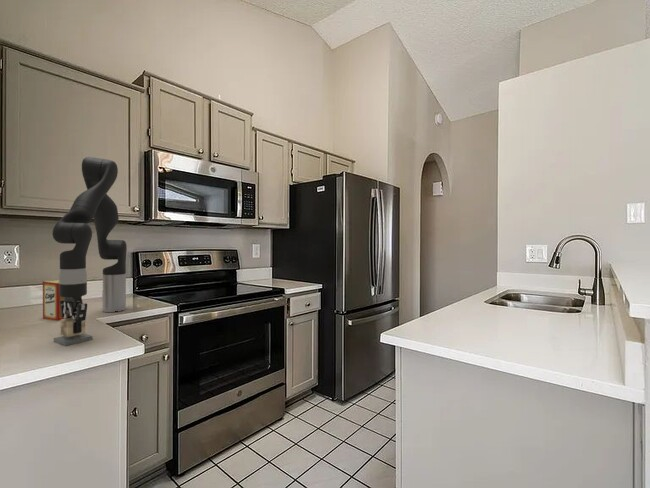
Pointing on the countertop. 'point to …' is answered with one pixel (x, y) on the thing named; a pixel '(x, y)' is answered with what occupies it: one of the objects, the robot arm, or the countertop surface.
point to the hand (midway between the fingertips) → (73, 331)
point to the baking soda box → (51, 300)
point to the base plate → (72, 339)
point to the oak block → (70, 327)
